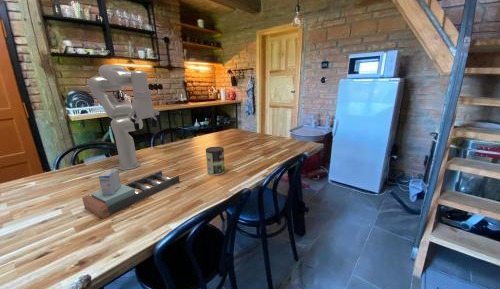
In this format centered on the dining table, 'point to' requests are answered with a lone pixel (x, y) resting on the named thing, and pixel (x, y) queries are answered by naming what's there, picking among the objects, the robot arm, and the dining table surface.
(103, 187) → the medicine box
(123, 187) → the slab
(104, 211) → the roller track
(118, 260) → the dining table surface
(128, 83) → the robot arm
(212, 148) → the coffee can
